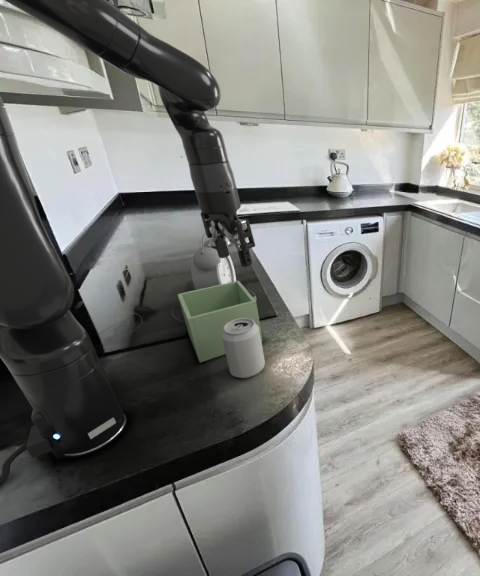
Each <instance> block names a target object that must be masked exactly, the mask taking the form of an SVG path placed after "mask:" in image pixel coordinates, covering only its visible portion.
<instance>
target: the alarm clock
mask: <svg viewBox="0 0 480 576" xmlns="http://www.w3.org/2000/svg"><path fill="white" fill-rule="evenodd" d="M206 236H207V235H206V232H204V233H203V234H202V237H201V248H199V249H198V250H197V251H195V252H194V253H193V255H192V257H191V261H190V273H191V279H192V283H193V287H194V290H198V289H203V288H207V287H212V286H216V285H221V284H225V283H230V282H234V281H237V277H236V269H235V267H234V262H233V260H232V258H231V255H230V254H229V256H227V257H225V258H220V257H219V256H218V252H217V249H216V246H215V243H214V242H213V241H212V239H211V238H209V239H207V240H206V241H205V238H206ZM226 244H227V243H226ZM227 247H228V250H229V246H228V245H227Z"/></svg>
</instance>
